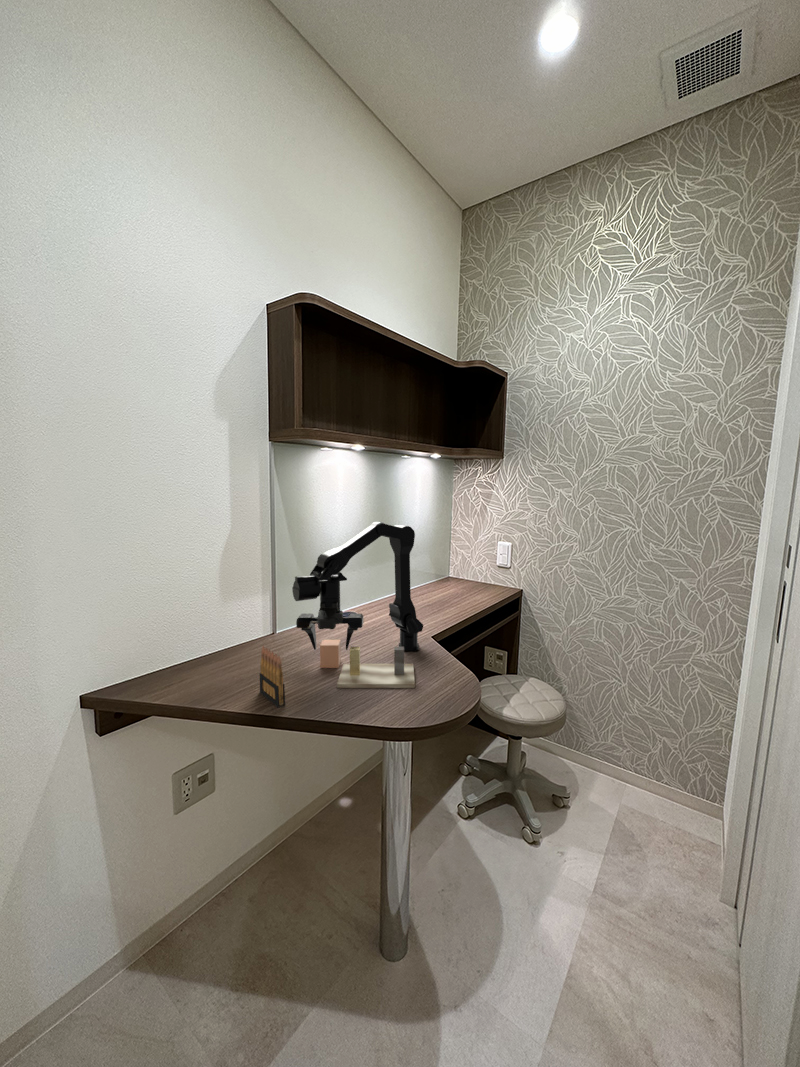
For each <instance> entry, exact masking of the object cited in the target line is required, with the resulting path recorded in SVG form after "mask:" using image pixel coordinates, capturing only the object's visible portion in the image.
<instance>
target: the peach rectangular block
mask: <svg viewBox="0 0 800 1067" xmlns="http://www.w3.org/2000/svg"><path fill="white" fill-rule="evenodd" d="M341 643H342V641H341V639H322V641H321V642H320V645H319V657H320V658H319V659H320V660H319V662H320V664H319V666H320V667H319V668H320V669H339V667H340V665H341V662H342V653H341V652H342V644H341Z"/></svg>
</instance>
